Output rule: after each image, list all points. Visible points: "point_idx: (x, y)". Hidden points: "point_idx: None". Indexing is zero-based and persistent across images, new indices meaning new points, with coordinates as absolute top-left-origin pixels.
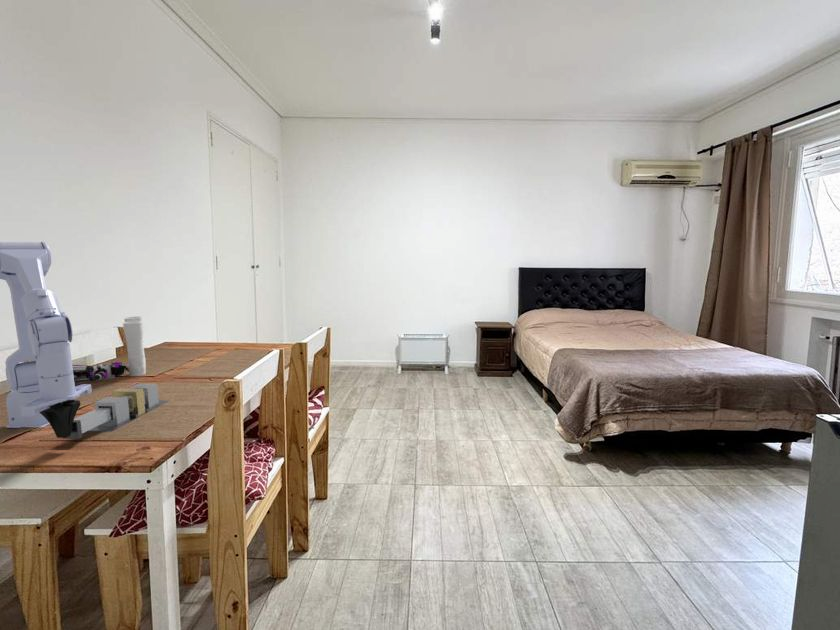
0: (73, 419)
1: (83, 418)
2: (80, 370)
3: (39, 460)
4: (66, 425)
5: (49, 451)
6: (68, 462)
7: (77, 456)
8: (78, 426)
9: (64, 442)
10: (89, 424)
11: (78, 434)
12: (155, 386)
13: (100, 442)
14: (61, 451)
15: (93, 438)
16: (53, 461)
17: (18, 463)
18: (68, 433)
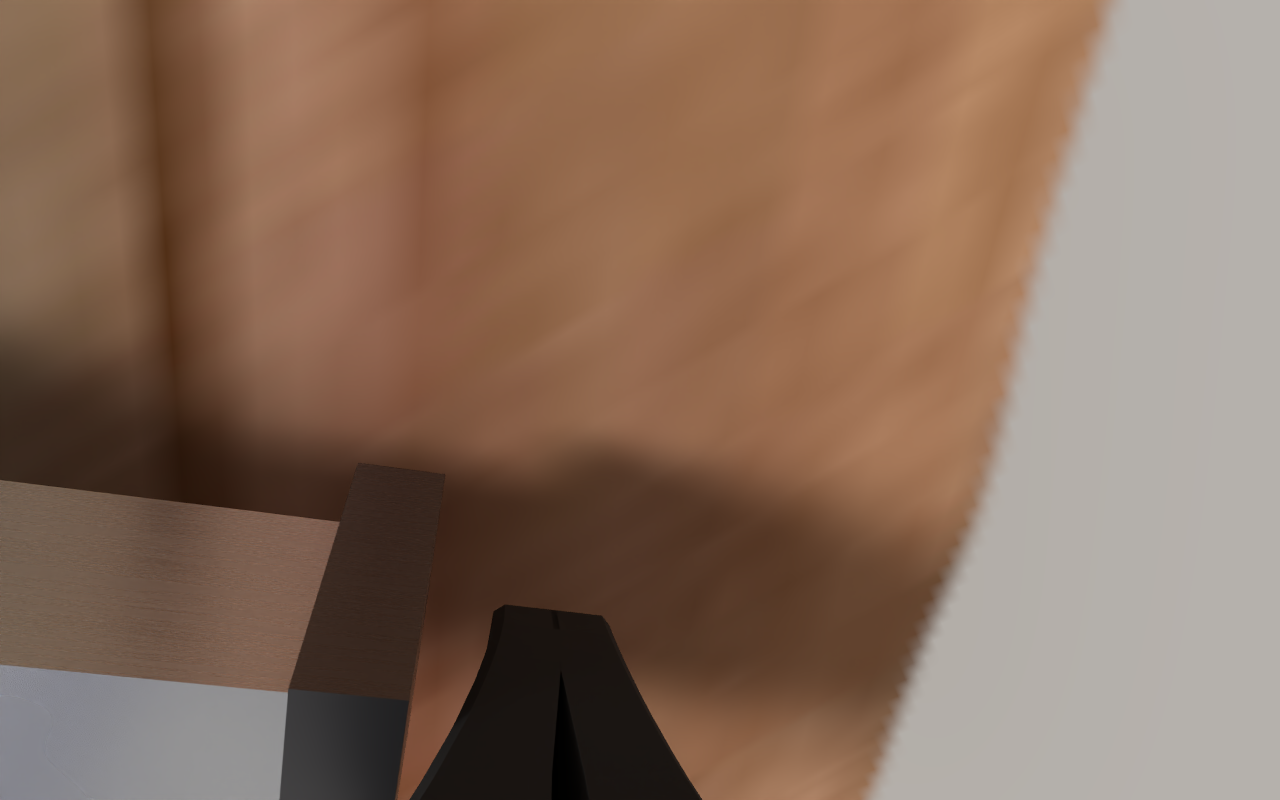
0: (439, 791)
1: (44, 734)
2: None
3: (835, 637)
4: (638, 759)
5: None
6: (1003, 234)
7: (805, 228)
8: (389, 610)
9: None
10: (51, 554)
11: (424, 518)
12: None
13: (260, 177)
14: (584, 556)
15: (99, 397)
16: (910, 459)
17: (870, 788)
18: (564, 637)
